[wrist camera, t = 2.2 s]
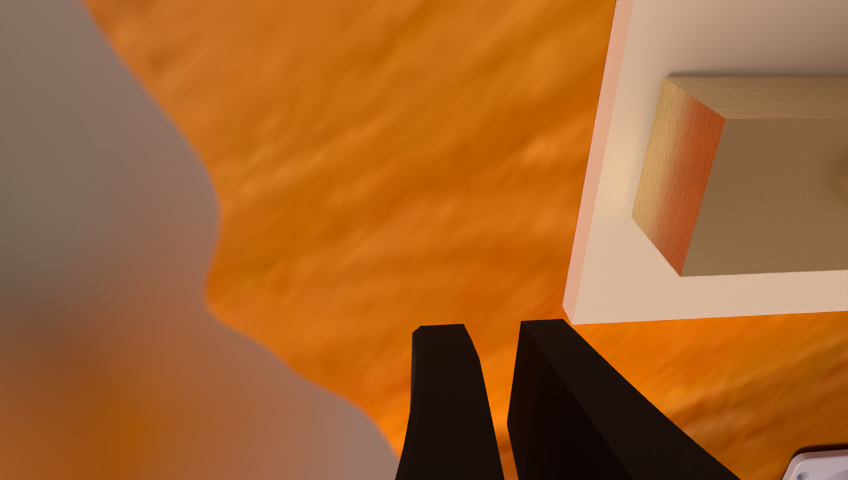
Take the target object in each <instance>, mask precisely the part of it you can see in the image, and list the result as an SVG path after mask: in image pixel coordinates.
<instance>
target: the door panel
mask: <svg viewBox="0 0 848 480" xmlns="http://www.w3.org/2000/svg"><path fill="white" fill-rule="evenodd" d="M814 76H848V0H617V2H616V8H615V13H614V19H613V24H612V30H611V36H610V41H609V47H608V53H607V58H606V64H605V69H604V75H603V81H602V86H601V92H600V98H599V103H598V109H597V114H596V120H595V126H594V131H593V137H592V142H591V148H590V154H589V159H588V165H587V171H586V176H585V182H584V187H583V193H582V199H581V204H580V210H579V216H578V221H577V227H576V232H575V238H574V244H573V249H572V255H571V260H570V266H569V272H568V277H567V283H566V289H565V294H564V300H563V305H562V306H563V308H564V310H565V312H566V314H567V316H568V318H569V320H570V321H571V323H572V325H573V324H593V323H613V322H633V321H652V320H672V319H692V318H711V317H731V316H751V315H770V314H790V313H810V312H830V311H848V270H834V271H810V272H787V273H763V274H740V275H716V276H693V277H680V276H679V275H678V274H677V273H676V271H675V270H674V269H673V268H672V266H671V265H670V264H669V263H668V262H667V260H666V259H665V258H664V257H663V256H662V254H661V253H660V252H659V251H658V249H657V248H656V247H655V246H654V245H653V243H652V242H651V241H650V240H649V239H648V237H647V236H646V235H645V234H644V232H643V231H642V230H641V229H640V228H639V226H638V225H637V224H636V223H635V222H634V220H633V219H632V218H631V215H632V211H633V207H634V202H635V198H636V193H637V189H638V185H639V180H640V176H641V171H642V167H643V163H644V158H645V154H646V149H647V145H648V140H649V136H650V132H651V127H652V123H653V118H654V114H655V110H656V105H657V101H658V96H659V92H660V88H661V83H662V79H663V77H814Z"/></svg>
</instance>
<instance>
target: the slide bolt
mask: <svg viewBox="0 0 848 480" xmlns="http://www.w3.org/2000/svg"><path fill="white" fill-rule="evenodd" d="M631 218H632V219H633V220H634V222H635V223H636V224H637V225H638V226H639V228H640V229H641V230H642V231H643V232H644V234H645V235H646V236H647V237H648V239H649V240H650V241H651V242H652V243H653V245H654V246H655V247H656V248H657V249H658V251H659V252H660V253H661V254H662V256H663V257H664V258H665V259H666V260H667V262H668V263H669V264H670V265H671V266H672V268H673V269H674V270H675V271H676V273H677V274H678V275H679V276H680V277H693V276H716V275H740V274H763V273H787V272H810V271H834V270H848V76H814V77H663V79H662V83H661V88H660V92H659V96H658V101H657V105H656V110H655V114H654V118H653V123H652V127H651V132H650V136H649V140H648V145H647V149H646V154H645V158H644V163H643V167H642V171H641V176H640V180H639V185H638V189H637V193H636V198H635V202H634V207H633V211H632V215H631Z"/></svg>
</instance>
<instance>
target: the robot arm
mask: <svg viewBox="0 0 848 480" xmlns="http://www.w3.org/2000/svg"><path fill="white" fill-rule="evenodd" d="M507 427H508V432H509V437H510V442H511V447H512V451H513V456H514V461H515V466H516V470H517V475H518V479H519V480H741V479H739V478H738V477H737V476H736V475H735V474H733V473H732V472H731V471H730V470H728V469H727V468H726V467H725V466H724V465H722V464H721V463H720V462H719V461H717V460H716V459H715V458H714V457H712V456H711V455H710V454H709V453H708V452H706V451H705V450H704V449H703V448H702V447H700V446H699V445H698V444H697V443H696V442H695V441H693V440H692V439H691V438H690V437H689V436H688V435H686V434H685V433H684V432H683V431H682V430H681V429H680V428H678V427H677V426H676V425H675V424H674V423H673V422H672V421H670V420H669V419H668V418H667V417H666V416H665V415H664V414H663V413H662V412H660V411H659V410H658V409H657V408H656V407H655V406H654V405H653V404H652V403H651V402H649V401H648V400H647V399H646V398H645V397H644V396H643V395H642V394H641V393H640V392H639V391H638V390H636V389H635V388H634V387H633V386H632V385H631V384H630V383H629V382H628V381H627V380H626V379H625V378H624V377H623V376H622V375H621V374H620V373H618V372H617V371H616V370H615V369H614V368H613V367H612V366H611V365H610V364H609V363H608V362H607V361H606V360H605V359H604V358H603V357H602V356H601V355H600V354H599V353H598V352H597V351H596V350H595V349H594V348H592V347H591V346H590V345H589V344H588V343H587V342H586V341H585V340H584V339H583V338H582V337H581V336H580V335H579V334H578V333H577V332H576V331H575V330H574V329H573V328H572V327H571V326H570V325H569V324H567V323H566V322H565V321H564V320H563V319H551V320H531V321H521V325H520V332H519V340H518V347H517V354H516V361H515V368H514V376H513V383H512V390H511V397H510V404H509V412H508V419H507ZM395 480H504V475H503V470H502V465H501V460H500V455H499V451H498V446H497V441H496V436H495V431H494V426H493V421H492V416H491V412H490V407H489V402H488V397H487V392H486V388H485V383H484V378H483V373H482V369H481V364H480V360H479V356H478V354H477V352H476V349H475V347H474V345H473V342H472V340H471V338H470V336H469V334H468V332H467V330H466V328H465V326H464V324H450V325H430V326H420V327H419V328H418V329H417V330H415V331H414V332H413V333H412V366H411V401H410V415H409V420H408V426H407V431H406V437H405V442H404V447H403V451H402V455H401V459H400V463H399V467H398V471H397V474H396V479H395ZM782 480H848V449H845V450H833V451H820V452H807V453H801V454H799V455H797V456H795V457H794V458H793V459H792V460H791V462H790V464H789V466H788V468H787V471H786V473H785V475H784V477H783V479H782Z"/></svg>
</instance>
